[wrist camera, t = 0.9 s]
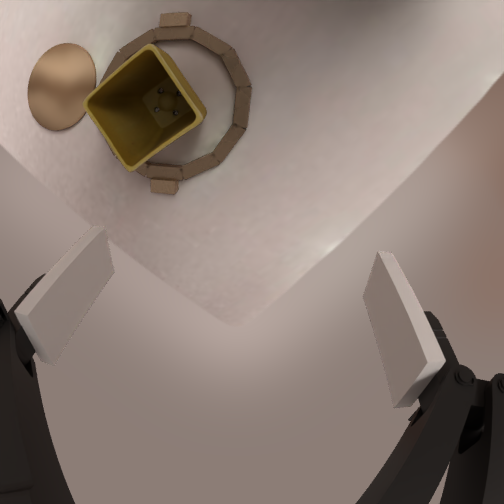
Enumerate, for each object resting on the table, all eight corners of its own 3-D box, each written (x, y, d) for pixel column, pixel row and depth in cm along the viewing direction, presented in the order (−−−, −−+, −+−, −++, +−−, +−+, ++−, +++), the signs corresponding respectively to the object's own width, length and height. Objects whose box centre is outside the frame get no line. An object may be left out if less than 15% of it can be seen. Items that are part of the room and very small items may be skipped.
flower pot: (222, 112, 30) (205, 120, 23) (160, 152, 33) (128, 175, 25) (181, 50, 27) (150, 40, 19) (122, 95, 30) (79, 103, 22)
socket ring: (108, 23, 24) (101, 22, 23) (260, 17, 24) (260, 14, 23) (103, 184, 35) (97, 188, 34) (239, 196, 35) (238, 201, 34)
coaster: (32, 52, 25) (29, 53, 25) (99, 36, 25) (97, 36, 25) (31, 132, 31) (28, 133, 31) (95, 127, 31) (92, 128, 31)
